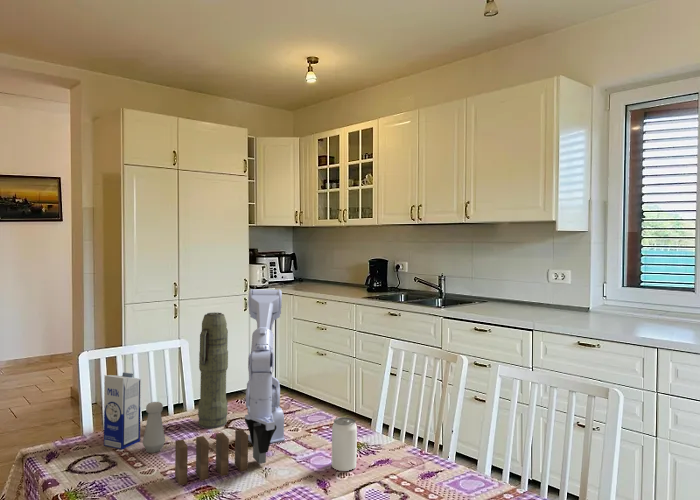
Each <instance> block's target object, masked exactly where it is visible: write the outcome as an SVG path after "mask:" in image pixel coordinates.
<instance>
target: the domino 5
mask: <svg viewBox="0 0 700 500" xmlns="http://www.w3.org/2000/svg"><path fill="white" fill-rule="evenodd" d="M260 425H261V423H259V422H258V423H254V426H260ZM252 458H253V459H254V460H255V461H256V462H257V464H258V465H261V464H266V462H267V452H266V453H261V454H260V452H259V449H258V440H257V435H256V432H255V430H254V432H253V446H252Z"/></svg>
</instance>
